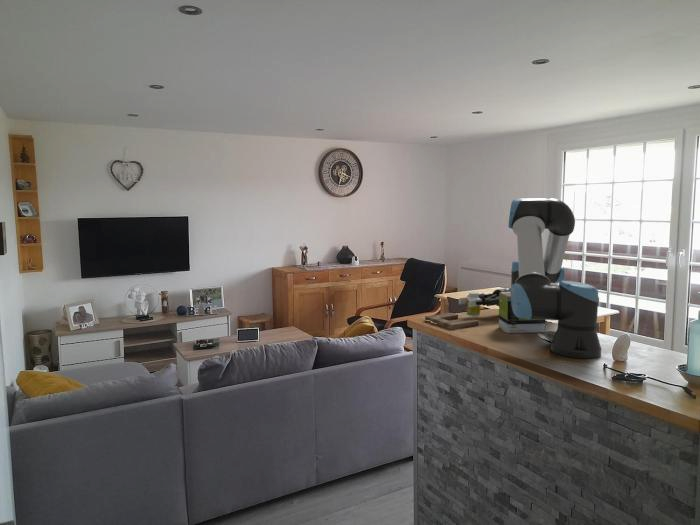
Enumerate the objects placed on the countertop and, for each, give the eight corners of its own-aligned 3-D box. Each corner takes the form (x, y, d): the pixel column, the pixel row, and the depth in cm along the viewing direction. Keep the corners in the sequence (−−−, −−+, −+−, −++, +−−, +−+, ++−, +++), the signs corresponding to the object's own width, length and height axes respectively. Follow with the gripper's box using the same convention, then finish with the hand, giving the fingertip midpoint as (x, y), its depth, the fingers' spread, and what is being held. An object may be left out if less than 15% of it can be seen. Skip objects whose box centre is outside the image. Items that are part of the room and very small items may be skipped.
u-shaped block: (478, 325, 199) (478, 320, 199) (452, 329, 192) (452, 324, 192) (450, 317, 214) (450, 312, 213) (425, 320, 207) (425, 316, 207)
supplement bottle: (470, 316, 206) (471, 294, 205) (464, 314, 211) (465, 291, 210) (482, 316, 207) (482, 293, 206) (476, 313, 212) (476, 291, 211)
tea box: (534, 326, 197) (536, 290, 195) (545, 333, 187) (547, 295, 185) (497, 327, 196) (499, 290, 195) (506, 333, 186) (507, 295, 185)
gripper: (519, 309, 210) (479, 315, 198) (488, 301, 226) (449, 307, 214) (520, 292, 209) (480, 297, 198) (488, 285, 225) (449, 290, 214)
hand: (464, 302), depth 206 cm, fingers closed on supplement bottle, 5 cm apart
